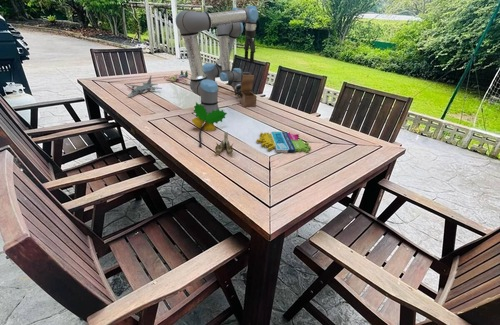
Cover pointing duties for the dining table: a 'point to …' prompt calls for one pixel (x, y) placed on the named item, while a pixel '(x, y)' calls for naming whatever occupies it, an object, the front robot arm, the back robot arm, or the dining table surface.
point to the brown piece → (247, 81)
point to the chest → (248, 99)
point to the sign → (283, 142)
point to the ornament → (207, 117)
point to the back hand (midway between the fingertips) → (247, 95)
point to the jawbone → (224, 145)
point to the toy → (178, 77)
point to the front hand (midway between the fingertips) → (248, 61)
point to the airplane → (142, 88)
